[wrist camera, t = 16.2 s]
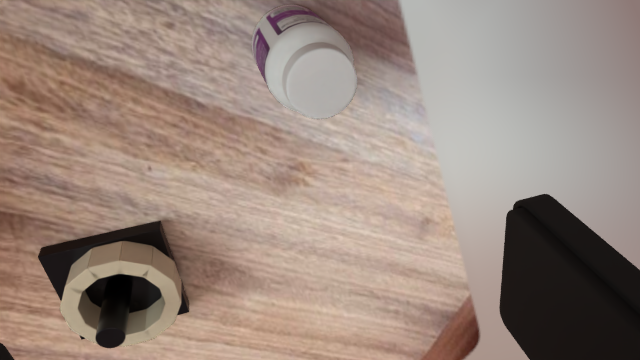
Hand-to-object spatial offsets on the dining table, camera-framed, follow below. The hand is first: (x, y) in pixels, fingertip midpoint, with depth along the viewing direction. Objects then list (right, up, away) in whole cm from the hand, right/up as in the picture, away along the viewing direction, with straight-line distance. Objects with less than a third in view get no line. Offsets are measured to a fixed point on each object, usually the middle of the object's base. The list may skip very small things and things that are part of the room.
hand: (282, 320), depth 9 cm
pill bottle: (-2, +12, +25) cm, 28 cm away
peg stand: (-16, -5, +31) cm, 35 cm away
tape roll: (-15, -6, +30) cm, 34 cm away
